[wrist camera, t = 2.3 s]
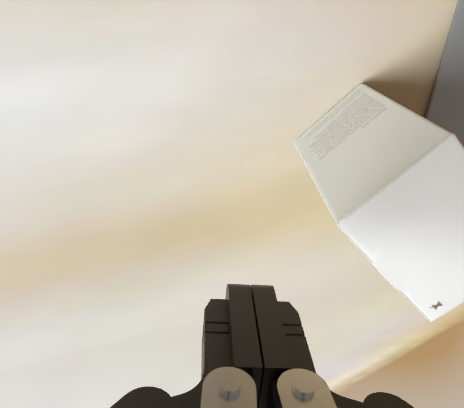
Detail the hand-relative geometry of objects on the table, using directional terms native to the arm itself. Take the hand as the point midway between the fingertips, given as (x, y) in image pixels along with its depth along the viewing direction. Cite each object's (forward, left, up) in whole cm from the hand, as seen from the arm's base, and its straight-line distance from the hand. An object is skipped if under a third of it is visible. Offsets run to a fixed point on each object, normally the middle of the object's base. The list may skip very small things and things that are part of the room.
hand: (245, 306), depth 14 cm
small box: (0, +10, -18) cm, 21 cm away
